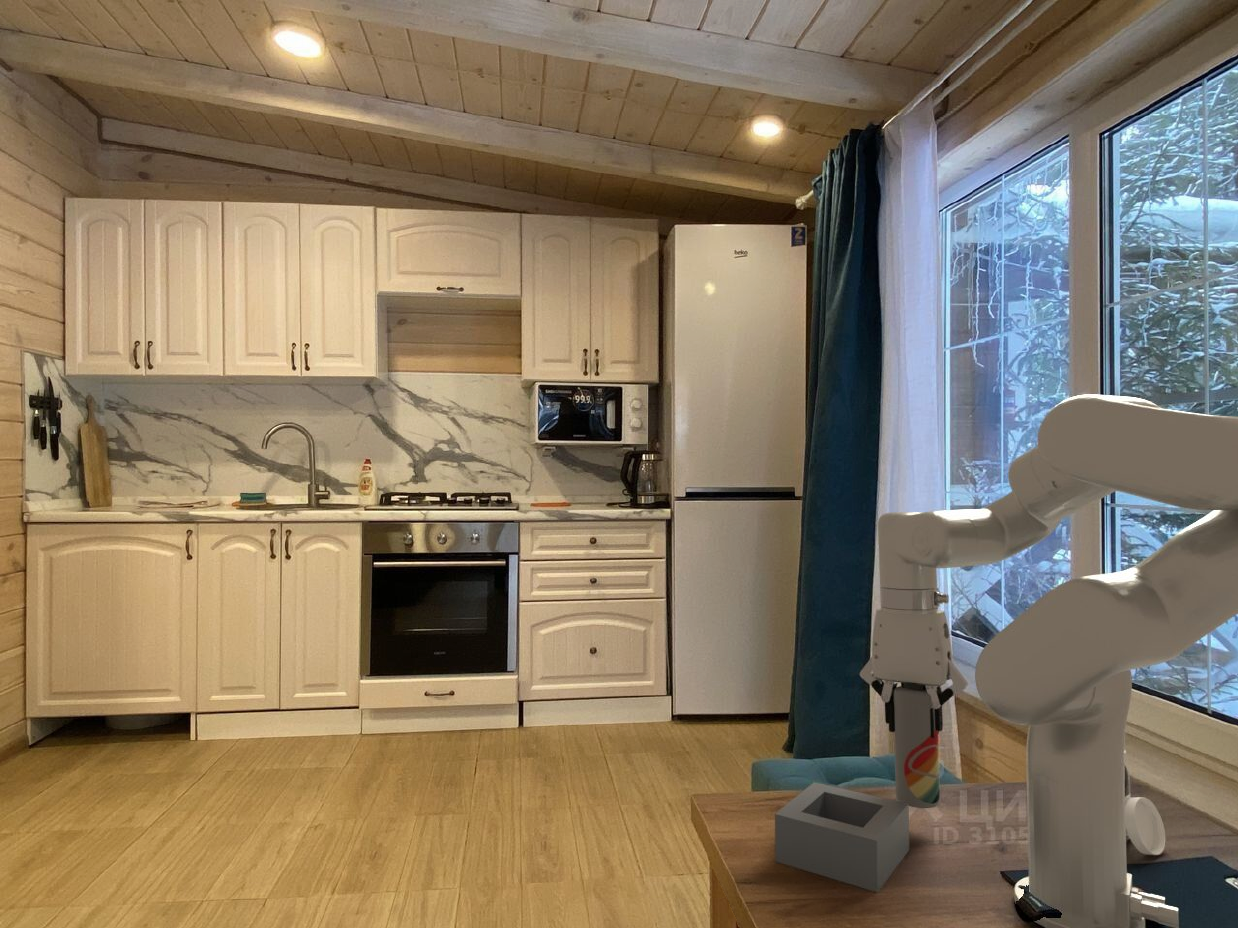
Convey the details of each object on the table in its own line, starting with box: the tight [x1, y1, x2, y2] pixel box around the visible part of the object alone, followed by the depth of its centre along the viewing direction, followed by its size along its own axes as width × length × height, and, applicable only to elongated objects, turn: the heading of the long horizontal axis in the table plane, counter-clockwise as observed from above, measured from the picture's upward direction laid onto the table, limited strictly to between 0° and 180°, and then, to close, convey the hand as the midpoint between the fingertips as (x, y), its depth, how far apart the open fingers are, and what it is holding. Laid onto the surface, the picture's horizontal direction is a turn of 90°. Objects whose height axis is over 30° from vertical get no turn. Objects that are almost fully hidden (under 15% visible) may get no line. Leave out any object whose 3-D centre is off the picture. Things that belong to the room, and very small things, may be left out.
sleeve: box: [774, 781, 910, 893], centre depth 100 cm, size 13×13×6 cm
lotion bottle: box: [893, 682, 941, 809], centre depth 108 cm, size 6×6×20 cm
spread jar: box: [1124, 749, 1166, 856], centre depth 105 cm, size 12×11×12 cm
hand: (914, 731), depth 108 cm, fingers closed on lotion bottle, 4 cm apart
